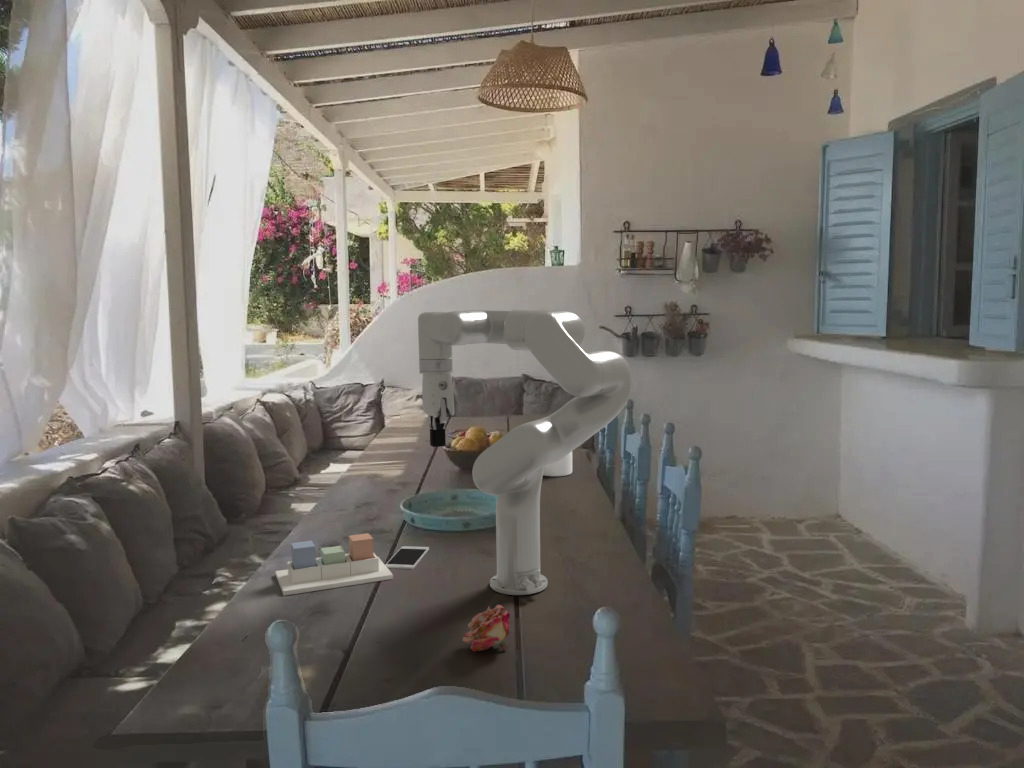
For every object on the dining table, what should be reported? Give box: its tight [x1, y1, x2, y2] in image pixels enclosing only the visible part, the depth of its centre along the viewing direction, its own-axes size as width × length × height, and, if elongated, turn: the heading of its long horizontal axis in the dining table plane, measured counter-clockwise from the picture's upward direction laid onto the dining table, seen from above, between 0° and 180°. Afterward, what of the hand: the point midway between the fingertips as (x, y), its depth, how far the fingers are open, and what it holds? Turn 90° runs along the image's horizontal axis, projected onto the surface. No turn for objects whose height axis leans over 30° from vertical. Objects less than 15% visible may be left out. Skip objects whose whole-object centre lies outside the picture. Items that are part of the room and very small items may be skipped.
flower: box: [462, 604, 512, 653], centre depth 146 cm, size 10×9×8 cm
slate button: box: [290, 540, 317, 569], centre depth 182 cm, size 5×5×5 cm
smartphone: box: [384, 545, 430, 570], centre depth 198 cm, size 7×16×1 cm, turn 171°
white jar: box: [543, 451, 573, 478], centre depth 287 cm, size 12×12×20 cm
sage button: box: [320, 545, 346, 565], centre depth 185 cm, size 5×5×5 cm
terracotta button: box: [348, 532, 374, 561], centre depth 187 cm, size 5×5×5 cm
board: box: [274, 551, 394, 596], centre depth 185 cm, size 14×24×4 cm, turn 113°
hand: (437, 445), depth 186 cm, fingers closed
